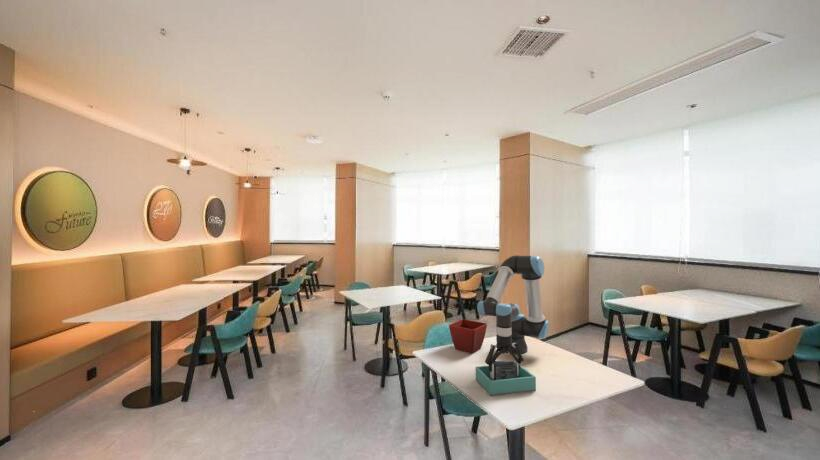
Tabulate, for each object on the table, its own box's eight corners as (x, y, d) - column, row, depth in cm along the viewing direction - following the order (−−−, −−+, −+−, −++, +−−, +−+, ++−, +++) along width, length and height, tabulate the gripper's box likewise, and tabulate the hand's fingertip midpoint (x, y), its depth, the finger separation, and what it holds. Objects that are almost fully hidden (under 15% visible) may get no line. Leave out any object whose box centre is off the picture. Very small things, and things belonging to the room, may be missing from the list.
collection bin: (517, 375, 180) (516, 362, 180) (535, 391, 163) (535, 376, 163) (475, 380, 176) (475, 366, 176) (490, 396, 158) (490, 381, 158)
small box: (513, 380, 172) (513, 360, 172) (516, 386, 165) (516, 365, 165) (493, 380, 173) (492, 360, 173) (495, 386, 166) (494, 365, 166)
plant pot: (463, 342, 235) (462, 318, 235) (487, 348, 223) (487, 323, 223) (448, 350, 220) (448, 324, 220) (474, 356, 208) (473, 330, 208)
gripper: (522, 330, 175) (522, 370, 175) (478, 334, 170) (478, 375, 170) (530, 335, 168) (530, 376, 168) (484, 338, 163) (484, 381, 163)
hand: (504, 376), depth 169 cm, fingers open, 13 cm apart
